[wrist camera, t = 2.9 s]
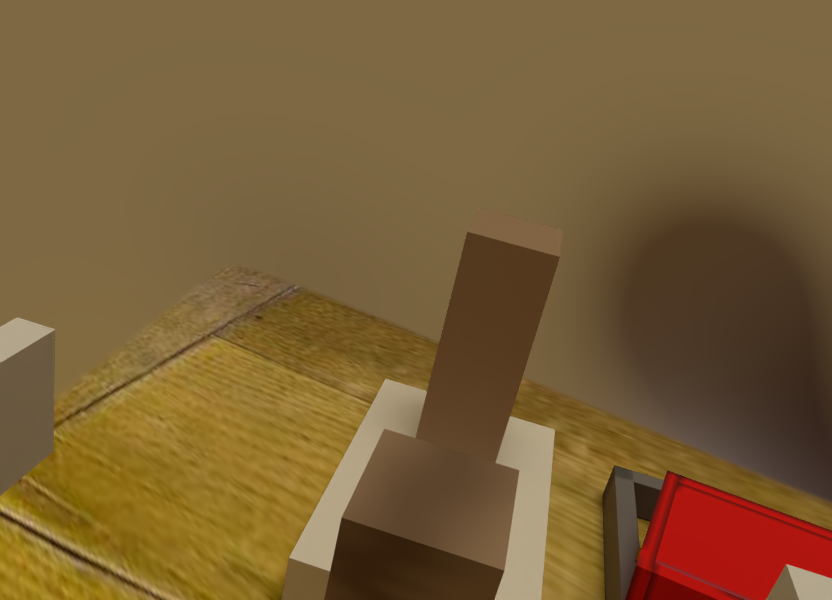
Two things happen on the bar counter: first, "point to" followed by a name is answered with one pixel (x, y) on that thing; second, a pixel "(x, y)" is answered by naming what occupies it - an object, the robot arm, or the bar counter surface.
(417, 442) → the walnut pillar
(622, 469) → the charcoal tray rim
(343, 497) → the base board
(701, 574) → the french fries container
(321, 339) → the bar counter surface
